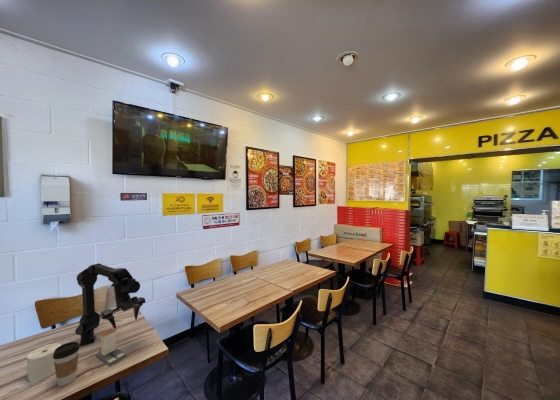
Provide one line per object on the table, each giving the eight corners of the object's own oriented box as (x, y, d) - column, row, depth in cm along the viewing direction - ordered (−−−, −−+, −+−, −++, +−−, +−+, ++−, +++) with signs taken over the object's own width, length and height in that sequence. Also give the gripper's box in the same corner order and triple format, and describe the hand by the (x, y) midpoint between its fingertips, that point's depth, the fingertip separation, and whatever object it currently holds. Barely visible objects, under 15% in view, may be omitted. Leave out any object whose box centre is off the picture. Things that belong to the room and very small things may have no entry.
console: (95, 356, 110) (95, 353, 110) (111, 348, 116) (111, 345, 116) (109, 366, 103) (109, 363, 103) (125, 357, 109) (125, 354, 109)
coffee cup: (63, 390, 90) (62, 354, 90) (47, 386, 92) (47, 351, 92) (84, 374, 99) (84, 341, 99) (70, 371, 100) (70, 339, 100)
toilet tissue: (59, 360, 108) (59, 340, 108) (63, 372, 100) (62, 350, 100) (26, 373, 99) (26, 352, 99) (27, 388, 92) (27, 364, 92)
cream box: (101, 353, 109) (100, 332, 109) (112, 347, 113) (112, 327, 113) (104, 356, 107) (103, 334, 107) (116, 349, 112) (115, 328, 112)
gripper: (104, 303, 101) (109, 337, 100) (147, 287, 116) (152, 317, 115) (97, 301, 108) (101, 333, 107) (139, 286, 123) (143, 314, 122)
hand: (126, 324), depth 112 cm, fingers open, 9 cm apart
